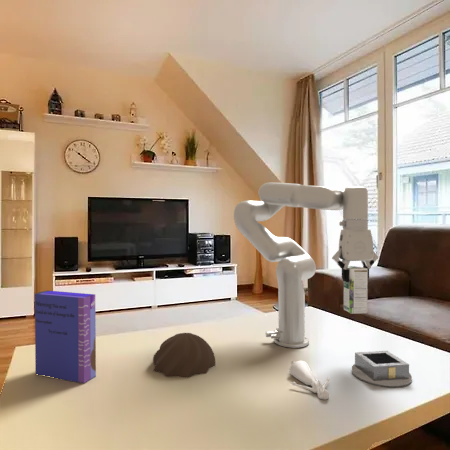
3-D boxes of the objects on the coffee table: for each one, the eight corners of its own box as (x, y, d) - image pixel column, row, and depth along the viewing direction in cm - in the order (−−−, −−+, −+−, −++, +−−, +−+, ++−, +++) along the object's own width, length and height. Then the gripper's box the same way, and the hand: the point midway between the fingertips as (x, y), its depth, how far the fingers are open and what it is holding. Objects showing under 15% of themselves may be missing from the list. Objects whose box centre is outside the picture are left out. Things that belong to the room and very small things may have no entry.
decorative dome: (226, 359, 116) (226, 328, 116) (193, 384, 99) (193, 348, 98) (177, 349, 125) (177, 321, 125) (138, 370, 108) (138, 337, 107)
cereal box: (95, 376, 103) (95, 293, 103) (84, 383, 98) (83, 297, 98) (48, 368, 109) (47, 289, 108) (35, 374, 104) (34, 292, 104)
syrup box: (342, 309, 118) (342, 265, 118) (360, 309, 118) (359, 265, 118) (350, 314, 112) (350, 268, 112) (368, 313, 113) (368, 267, 113)
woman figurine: (313, 355, 108) (347, 386, 90) (312, 369, 108) (346, 403, 91) (277, 358, 105) (305, 391, 88) (276, 373, 105) (304, 408, 88)
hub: (369, 389, 95) (370, 371, 95) (342, 365, 111) (342, 349, 111) (424, 385, 97) (424, 367, 97) (389, 362, 113) (389, 347, 113)
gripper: (335, 225, 110) (335, 283, 110) (386, 225, 113) (386, 282, 113) (325, 225, 117) (325, 280, 118) (373, 224, 120) (373, 278, 120)
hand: (355, 280), depth 115 cm, fingers closed on syrup box, 5 cm apart
